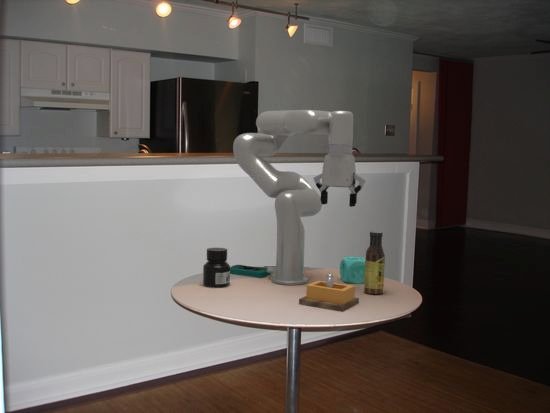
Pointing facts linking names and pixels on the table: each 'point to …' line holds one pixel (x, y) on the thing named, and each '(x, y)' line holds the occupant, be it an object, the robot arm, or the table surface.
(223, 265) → the ink bottle
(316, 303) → the plate
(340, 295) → the link
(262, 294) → the table surface
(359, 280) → the decorative dice
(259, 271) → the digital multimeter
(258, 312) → the table surface
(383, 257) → the sauce bottle
